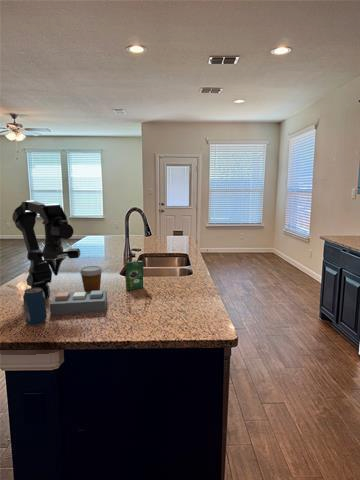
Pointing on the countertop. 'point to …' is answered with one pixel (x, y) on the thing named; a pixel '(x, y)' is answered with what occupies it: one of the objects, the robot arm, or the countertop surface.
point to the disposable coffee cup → (91, 278)
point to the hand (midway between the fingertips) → (56, 275)
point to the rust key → (62, 296)
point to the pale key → (79, 295)
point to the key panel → (78, 305)
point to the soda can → (34, 306)
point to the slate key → (96, 294)
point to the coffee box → (134, 275)
